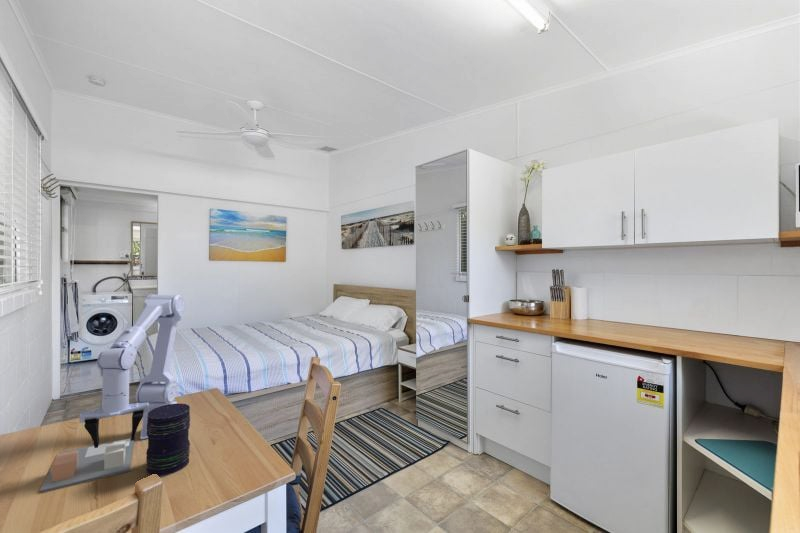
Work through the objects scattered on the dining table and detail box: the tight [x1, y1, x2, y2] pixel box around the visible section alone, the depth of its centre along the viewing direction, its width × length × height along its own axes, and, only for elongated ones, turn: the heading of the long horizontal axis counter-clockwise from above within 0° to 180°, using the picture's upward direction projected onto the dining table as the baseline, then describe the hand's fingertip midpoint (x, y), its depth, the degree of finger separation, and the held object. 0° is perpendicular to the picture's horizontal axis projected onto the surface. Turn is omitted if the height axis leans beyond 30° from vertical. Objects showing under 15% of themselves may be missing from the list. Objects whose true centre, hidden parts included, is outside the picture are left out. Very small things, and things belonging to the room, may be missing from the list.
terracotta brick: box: [51, 451, 78, 482], centre depth 92 cm, size 4×6×4 cm, turn 34°
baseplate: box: [39, 437, 135, 494], centre depth 98 cm, size 17×20×1 cm
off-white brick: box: [104, 441, 126, 470], centre depth 97 cm, size 4×6×4 cm, turn 34°
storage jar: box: [145, 403, 191, 477], centre depth 97 cm, size 10×10×15 cm
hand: (115, 442), depth 97 cm, fingers open, 7 cm apart
